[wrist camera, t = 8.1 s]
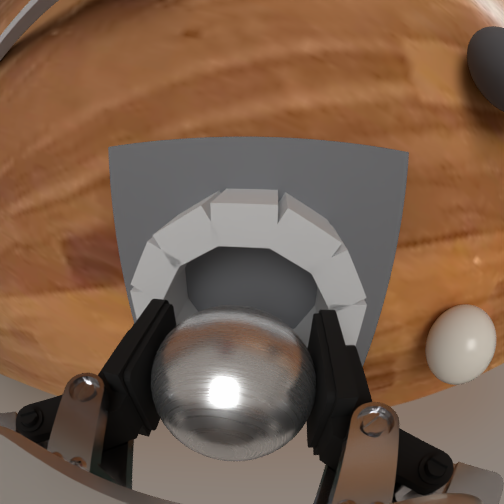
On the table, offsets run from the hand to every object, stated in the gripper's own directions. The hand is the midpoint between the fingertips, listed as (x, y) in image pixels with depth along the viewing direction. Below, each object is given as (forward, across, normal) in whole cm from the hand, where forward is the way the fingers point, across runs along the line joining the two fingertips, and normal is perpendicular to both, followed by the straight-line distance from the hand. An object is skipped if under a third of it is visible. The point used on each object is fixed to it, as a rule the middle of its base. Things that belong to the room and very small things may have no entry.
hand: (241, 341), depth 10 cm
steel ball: (-2, 0, 0) cm, 2 cm away
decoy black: (+3, -13, -13) cm, 19 cm away
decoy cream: (+3, -13, +3) cm, 14 cm away
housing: (+5, 0, 0) cm, 5 cm away
